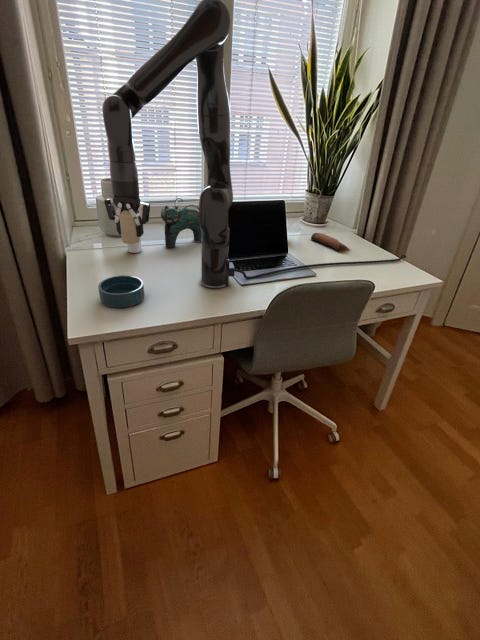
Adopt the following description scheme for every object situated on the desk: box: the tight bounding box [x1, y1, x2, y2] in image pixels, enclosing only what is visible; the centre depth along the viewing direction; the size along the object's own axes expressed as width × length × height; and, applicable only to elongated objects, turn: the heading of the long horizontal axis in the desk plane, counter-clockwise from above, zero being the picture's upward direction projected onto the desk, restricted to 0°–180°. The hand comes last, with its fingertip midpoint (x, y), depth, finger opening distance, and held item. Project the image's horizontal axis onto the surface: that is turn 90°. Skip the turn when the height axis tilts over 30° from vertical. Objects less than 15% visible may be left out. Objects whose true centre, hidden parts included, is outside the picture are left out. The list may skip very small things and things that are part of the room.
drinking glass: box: [127, 236, 143, 254], centre depth 140 cm, size 7×7×15 cm
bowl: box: [97, 274, 145, 309], centre depth 108 cm, size 13×13×5 cm
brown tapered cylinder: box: [310, 232, 350, 253], centre depth 164 cm, size 18×7×7 cm
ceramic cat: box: [160, 197, 201, 249], centre depth 149 cm, size 20×6×20 cm, turn 129°
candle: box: [119, 210, 140, 245], centre depth 107 cm, size 6×6×10 cm
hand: (130, 234), depth 108 cm, fingers closed on candle, 5 cm apart
